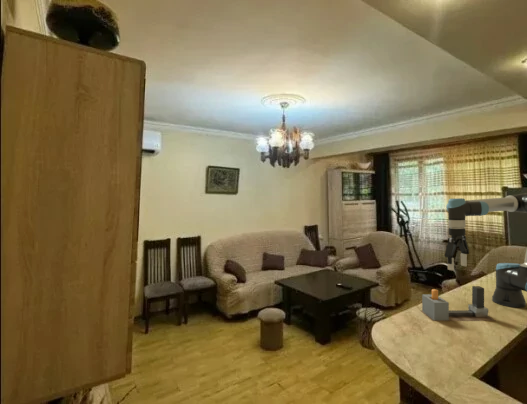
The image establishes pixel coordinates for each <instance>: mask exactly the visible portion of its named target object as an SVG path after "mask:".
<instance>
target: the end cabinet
mask: <svg viewBox="0 0 527 404" xmlns="http://www.w3.org/2000/svg"><path fill="white" fill-rule="evenodd" d="M421 298H422V299H421V300H422V301H421V306H422V307H421V308H422V309H421V311H423V312H424V313H426V314H427V315H428V316H429V317H431V318H432V319H433V320H449V308H450V307H449V305H450V303H449V301H447V300H445V299H444V298H442V297H440V296H439V295H438V300H432V293H431V294H426V293H425V294H424V293H423V294H421ZM429 317H428V318H429Z"/></svg>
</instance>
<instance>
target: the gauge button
mask: <svg viewBox="0 0 527 404" xmlns="http://www.w3.org/2000/svg"><path fill="white" fill-rule="evenodd" d="M431 294H432V300H438V296H439V289H435V288H432V289H431Z"/></svg>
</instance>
